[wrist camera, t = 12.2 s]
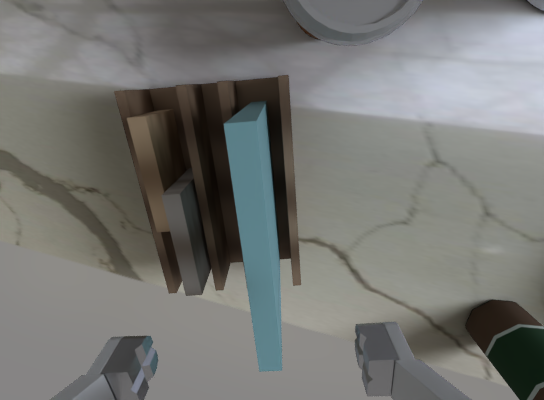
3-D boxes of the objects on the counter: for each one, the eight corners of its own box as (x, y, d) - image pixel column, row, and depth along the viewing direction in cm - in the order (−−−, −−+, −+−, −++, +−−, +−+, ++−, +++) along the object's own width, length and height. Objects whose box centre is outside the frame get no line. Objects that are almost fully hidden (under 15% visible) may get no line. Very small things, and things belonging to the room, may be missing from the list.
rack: (147, 89, 29) (114, 91, 23) (286, 76, 28) (289, 74, 22) (186, 258, 37) (169, 293, 31) (297, 251, 36) (301, 285, 30)
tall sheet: (251, 102, 28) (223, 123, 13) (266, 100, 28) (256, 121, 13) (266, 245, 34) (259, 371, 19) (279, 244, 34) (282, 370, 19)
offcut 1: (158, 110, 28) (126, 118, 22) (173, 109, 28) (145, 116, 22) (179, 204, 32) (156, 232, 26) (192, 203, 32) (173, 231, 26)
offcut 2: (189, 168, 31) (161, 195, 23) (203, 166, 30) (179, 193, 23) (205, 249, 34) (186, 295, 27) (218, 248, 34) (201, 294, 27)
